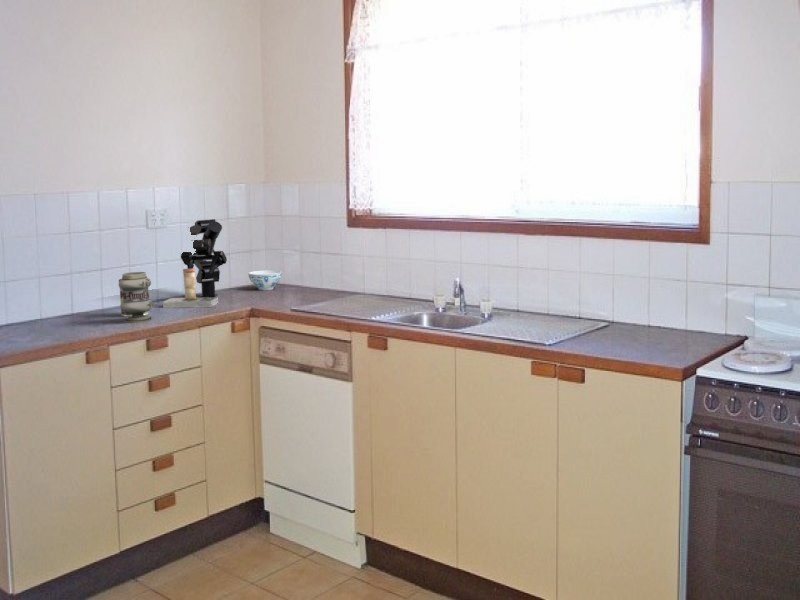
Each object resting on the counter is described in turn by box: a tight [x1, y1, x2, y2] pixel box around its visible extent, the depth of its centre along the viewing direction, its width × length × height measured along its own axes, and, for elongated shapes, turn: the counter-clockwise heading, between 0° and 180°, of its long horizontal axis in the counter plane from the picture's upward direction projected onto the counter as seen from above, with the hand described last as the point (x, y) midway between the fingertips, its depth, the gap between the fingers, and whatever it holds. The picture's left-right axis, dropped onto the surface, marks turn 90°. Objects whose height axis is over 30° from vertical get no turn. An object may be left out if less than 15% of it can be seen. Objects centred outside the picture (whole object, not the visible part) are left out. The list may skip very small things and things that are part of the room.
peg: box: [182, 268, 197, 301], centre depth 390 cm, size 4×4×15 cm
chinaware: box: [248, 269, 283, 291], centre depth 432 cm, size 15×15×8 cm
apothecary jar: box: [118, 271, 154, 323], centre depth 357 cm, size 12×12×18 cm
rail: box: [162, 296, 219, 309], centre depth 391 cm, size 10×20×2 cm, turn 85°
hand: (199, 273), depth 398 cm, fingers open, 9 cm apart
